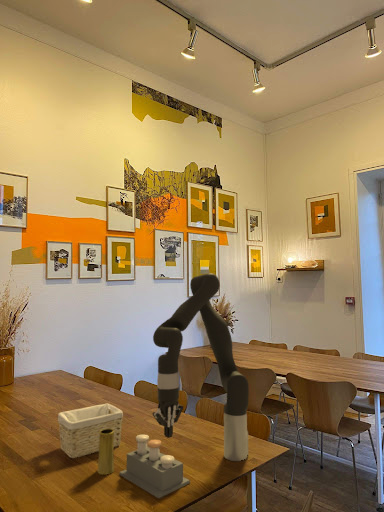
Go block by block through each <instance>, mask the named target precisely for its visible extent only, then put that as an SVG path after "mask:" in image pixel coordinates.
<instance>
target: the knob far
mask: <svg viewBox="0 0 384 512" xmlns="http://www.w3.org/2000/svg"><path fill="white" fill-rule="evenodd" d="M135 441H136V443H137V446H136V448H137V449H136V450H137V454H138V455H140V456H143V455H145V454H147V446H148V441H150V437H149V435H147V434H138V435H136V436H135Z"/></svg>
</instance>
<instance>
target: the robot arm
mask: <svg viewBox="0 0 384 512" xmlns="http://www.w3.org/2000/svg"><path fill="white" fill-rule="evenodd" d="M220 286H221V285H220V280H219V278H218V276H217V274H215V273H210V272H208V273H204V274H203V273H202V274H201V275H197V276H194V277H192V278H191V280H190V287H189V288H190V291H191V294H192V295H191V296H190V297H189V298H188V299H186V300H185V301H184V302H183V303H181V304H180V305H179V306H178V307H177V309H175V311H174V313H173V314H172V315H171V316H170V317H169V318H167V319H166V320H165V321H164V322H162V323H161V324H160V325H159V326H158V327H156V329H155V330H154V332H153V337H152V339H153V340H152V341H153V343H154V344H155V346H156V347H159V348H166V349H167V352H166V353H164V354H161V355H159V356H158V359H157V384H156V385H157V388H156V390H157V395H156V396H157V397H156V398H157V401H158V404H157V409H156V411H154V412H152V416H153V418H154V419H155V421H156V422H157V423H158V424H159V426H163V428H164V429H163V435H164V438H167V439H170V438H172V437H173V433H174V426H175V423H178V420H179V418H180V416H181V414H182V412H183V410H184V405H182V404H179V403H180V402H179V399H180V376H179V358H180V355H181V350H182V349H181V348H182V346H183V341H184V338H183V337H184V336H183V333H182V332H184V331H186V330H187V329H188V327H189V325H190V324H191V322H193V321H192V320H193V319H194V318H195V317H196V315H197V314H198V313H200V316H201V319H202V322H203V325H204V327H205V328H204V329H205V331H206V335H207V338H208V342H209V345H210V346H211V350H212V353H213V356H214V358H215V361H216V363H217V367H218V371H219V376H220V382H221V386H222V388H223V390H224V391H225V392H226V403H225V404H224V406H223V457H224V458H225V459H227V460H228V461H231V462H242V461H241V460H243V461H244V459H245V460H247V458H248V456H249V431H248V427H247V426H248V421H247V420H248V415H247V413H248V412H247V411H248V407H249V398H250V397H249V395H250V394H249V391H250V389H249V387H250V386H249V382H248V379H247V377H246V376H245V375H243V374H242V373H240V372H239V370H238V367H237V365H236V363H235V359H234V355H233V340H232V335H231V331H230V329H229V326H228V323H227V322H226V320H225V319H224V317H222V316H221V315H220V314H219V313H218V312H217V310H216V309H214V307H213V305H212V303H211V301H210V300H211V299H212V298H213V297H215V295H216V294H217V293H218V292H219V290H220ZM247 455H248V456H247Z"/></svg>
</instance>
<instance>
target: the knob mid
mask: <svg viewBox="0 0 384 512" xmlns="http://www.w3.org/2000/svg"><path fill="white" fill-rule="evenodd" d="M147 446H148V447H149V461H151V462H156V461H158V460H159V452H160V447H162V441H161V440H160V439H151V440H150V439H149V440H148V441H147Z"/></svg>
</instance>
